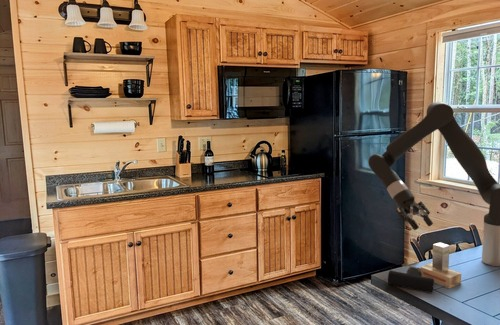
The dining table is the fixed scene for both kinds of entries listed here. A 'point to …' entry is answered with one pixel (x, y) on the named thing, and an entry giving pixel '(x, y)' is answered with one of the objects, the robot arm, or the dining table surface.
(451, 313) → the dining table surface
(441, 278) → the block
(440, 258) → the jack column
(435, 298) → the dining table surface
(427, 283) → the pipe connector
